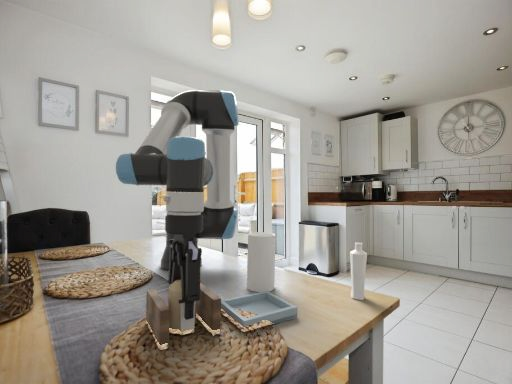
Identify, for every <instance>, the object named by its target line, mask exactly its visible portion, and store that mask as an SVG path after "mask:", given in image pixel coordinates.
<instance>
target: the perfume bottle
mask: <svg viewBox="0 0 512 384" xmlns="http://www.w3.org/2000/svg"><path fill="white" fill-rule="evenodd" d="M363 244H364V243H363V242H354V249H353V250H351V251H350V250H349V262H350V266H349V267H350V279H351V281H350V283H351V292H350V295H349V296H350V297H351V299H354V300H358V301H363V300H365V298H366V295H365V281H366V271H367V270H366V269H367V261H368V252H365V250H363Z"/></svg>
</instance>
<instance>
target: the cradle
mask: <svg viewBox="0 0 512 384" xmlns="http://www.w3.org/2000/svg"><path fill="white" fill-rule="evenodd" d="M221 300H222V298H221V297H220V296H219V295H217V294H215V292H214V291H212V290H211V289H210V288H208V287H207V286H205V285H204V284H203V283H202V282H201V283H200V300H198V301H196V313H197V314H198V315H199V316H200V317H201V318H202V320H203V321H204V322H205V323H206V324H207V325H208V326H209V327H210V328H211V329H212V330H217V329H220V330H221V324H222V323H221V321H222V319H221V315H222V314H221ZM145 303H146V304H145V306H146V307H145V321H146V320H147V322H148V323H149V325H150V327H151V329H152V331H153V333H154V335H155V337H156V339H157V341H158V342H159V344H160V345H162V344H165V343H169V344H170V333H169V327H170V308H169V307H168V304H167V303H166V302H165V301H164V299H163V298H162V296H161V295H160V294H159V293H158V291H157V290H156V289H155V288H150V289H146V302H145Z"/></svg>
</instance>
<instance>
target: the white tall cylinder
mask: <svg viewBox="0 0 512 384" xmlns="http://www.w3.org/2000/svg"><path fill="white" fill-rule="evenodd" d="M246 261H247V262H246V263H247V266H246V269H247V270H246V289H247V290H249V291H251V292H255V293H259V292H264V291H268V292H272V291H274V289H275V277H276V276H275V274H276V273H275V270H276V268H275V267H276V266H275V265H276V263H275V262H276V234H275V233H273V232H268V231H267V232H263V231H262V232H261V231H257V232H256V231H254V232H253V231H252V232H249V233H248V234H247V259H246Z"/></svg>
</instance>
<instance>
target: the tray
mask: <svg viewBox="0 0 512 384" xmlns="http://www.w3.org/2000/svg"><path fill="white" fill-rule="evenodd" d="M233 308H234V309H233ZM221 309H223V310H224V311H225V312H226V313H227V314H228V315H229V316H231V317H232V318H233V319H234V320H236V321H237V322H238V323H240V324H241V325H242V326H243V327H246V326H249V325H252V324H255V323H258V322H260V321H262V320H268V321H270V322H272V323H274V325H276V324H280V323H283V322H287V321H290V320H294V319H297V318H298V306H297V305H294V304H292V303H290V302H289V301H287V300H285V299H283V298H281V297H280V296H278V295H276V294H274V293H272V292H271V291H269V292H268V291H264V292H255V293H251V294H250V293H249V294H246V295H245V294H244V295H241V296H235V297H232V298H231V297H229V298H225V299H221ZM235 309H241V310H245V311H249V312H252V313H255V314H258V315H256V316H252V317H248V318H245V317H244V316H242V315H241V314H240V313H239V312H237V311H236V310H235Z"/></svg>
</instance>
